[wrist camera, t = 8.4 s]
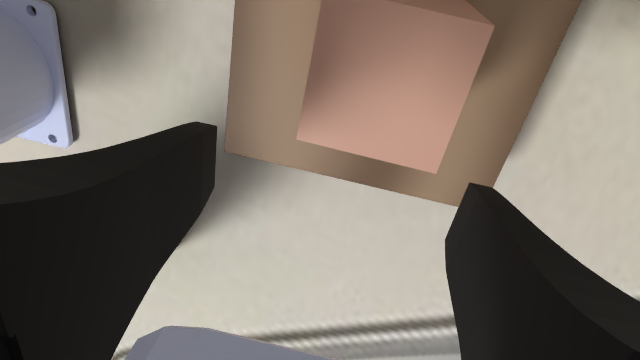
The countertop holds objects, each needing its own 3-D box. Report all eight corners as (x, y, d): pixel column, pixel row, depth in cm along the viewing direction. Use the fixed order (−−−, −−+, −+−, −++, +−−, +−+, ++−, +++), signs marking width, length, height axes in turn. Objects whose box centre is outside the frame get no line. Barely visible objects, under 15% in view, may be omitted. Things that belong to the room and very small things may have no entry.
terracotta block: (320, 89, 17) (296, 139, 13) (344, -29, 15) (324, -15, 11) (425, 114, 17) (436, 174, 13) (465, 0, 15) (495, 25, 10)
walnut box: (246, 122, 22) (224, 151, 19) (275, -161, 16) (248, -184, 13) (469, 174, 22) (480, 212, 19) (585, -96, 16) (631, -104, 13)
